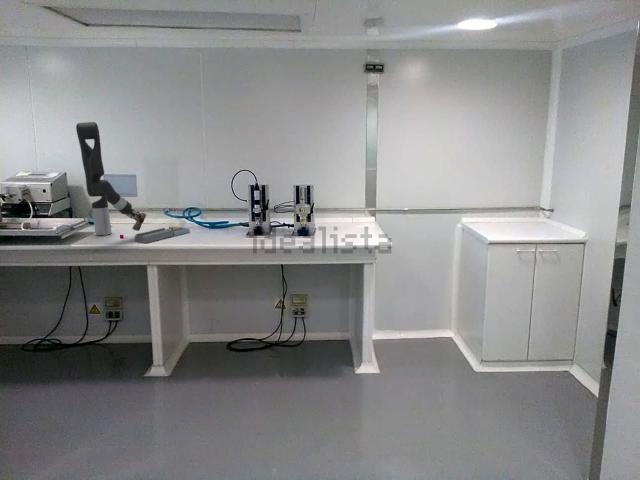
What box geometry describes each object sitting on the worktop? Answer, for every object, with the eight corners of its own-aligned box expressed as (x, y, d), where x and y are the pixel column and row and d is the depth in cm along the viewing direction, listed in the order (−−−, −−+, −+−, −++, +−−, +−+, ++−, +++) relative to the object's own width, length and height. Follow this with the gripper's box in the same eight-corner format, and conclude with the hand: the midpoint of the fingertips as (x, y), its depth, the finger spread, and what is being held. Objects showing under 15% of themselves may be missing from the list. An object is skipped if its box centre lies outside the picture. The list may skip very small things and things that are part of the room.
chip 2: (181, 227, 309) (182, 231, 309) (177, 226, 311) (178, 231, 312) (176, 228, 305) (177, 233, 306) (172, 227, 308) (173, 232, 308)
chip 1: (172, 227, 303) (176, 226, 305) (168, 227, 305) (172, 226, 307) (173, 234, 304) (177, 233, 306) (169, 233, 306) (173, 232, 308)
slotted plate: (145, 243, 284) (145, 236, 283) (135, 241, 290) (134, 234, 289) (173, 236, 300) (172, 229, 299) (162, 234, 306) (162, 227, 305)
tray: (174, 236, 300) (174, 232, 300) (162, 234, 306) (162, 230, 306) (189, 232, 310) (189, 228, 309) (178, 230, 316) (177, 226, 315)
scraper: (136, 229, 294) (144, 213, 297) (131, 228, 296) (140, 212, 300) (139, 231, 296) (147, 215, 299) (134, 230, 298) (143, 214, 302)
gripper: (132, 200, 284) (152, 217, 296) (117, 198, 291) (137, 215, 304) (125, 210, 281) (145, 227, 293) (110, 208, 288) (131, 225, 301)
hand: (141, 221), depth 299 cm, fingers closed on scraper, 2 cm apart
